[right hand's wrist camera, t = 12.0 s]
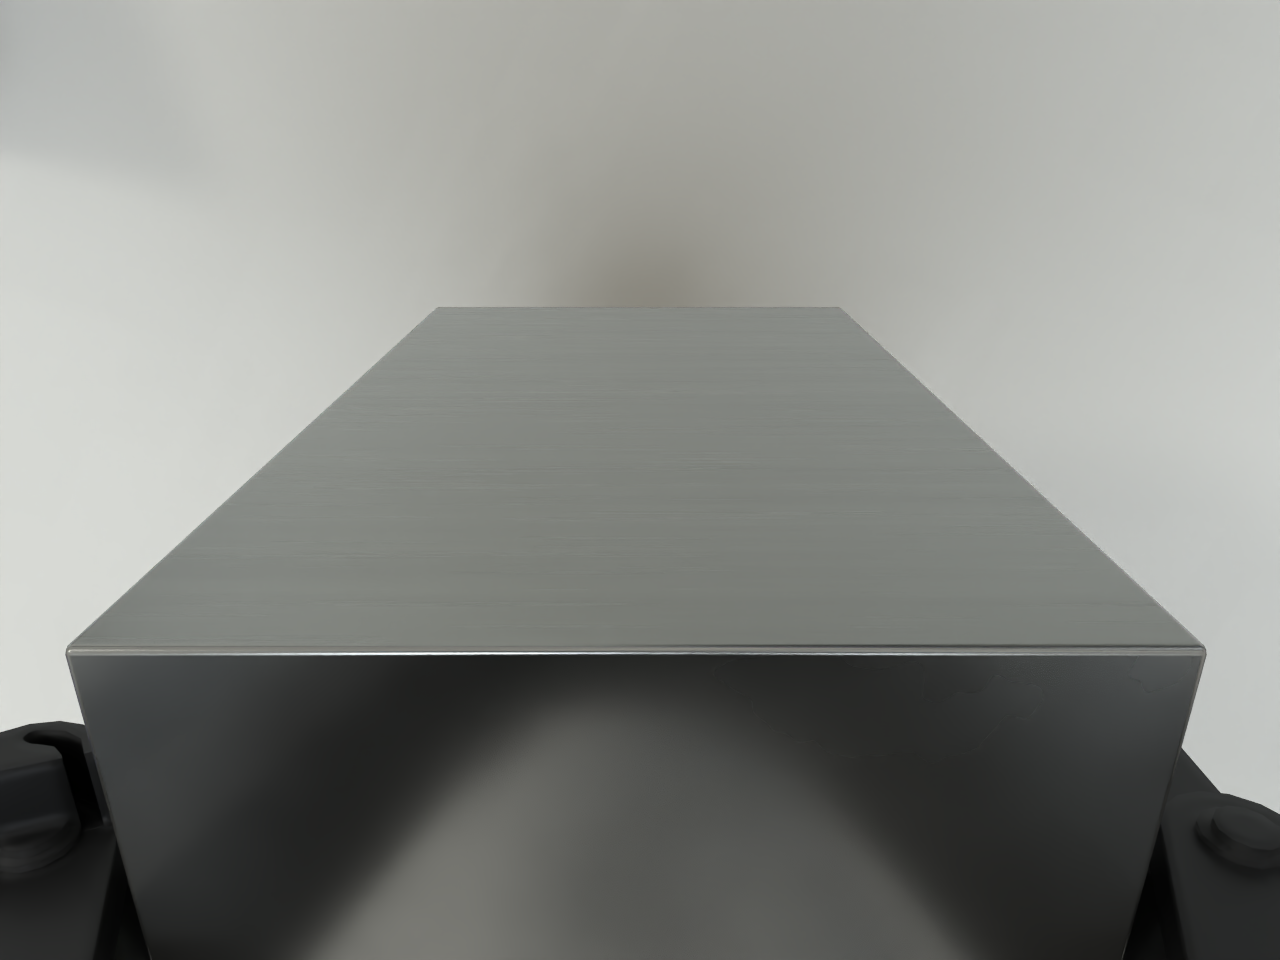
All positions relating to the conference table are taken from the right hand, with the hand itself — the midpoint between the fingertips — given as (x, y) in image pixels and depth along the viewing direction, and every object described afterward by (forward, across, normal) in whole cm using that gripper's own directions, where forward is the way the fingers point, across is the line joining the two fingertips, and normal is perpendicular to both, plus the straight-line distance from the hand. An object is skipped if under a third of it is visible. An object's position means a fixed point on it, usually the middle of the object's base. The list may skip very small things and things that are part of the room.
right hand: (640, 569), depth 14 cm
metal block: (+3, 0, 0) cm, 3 cm away
